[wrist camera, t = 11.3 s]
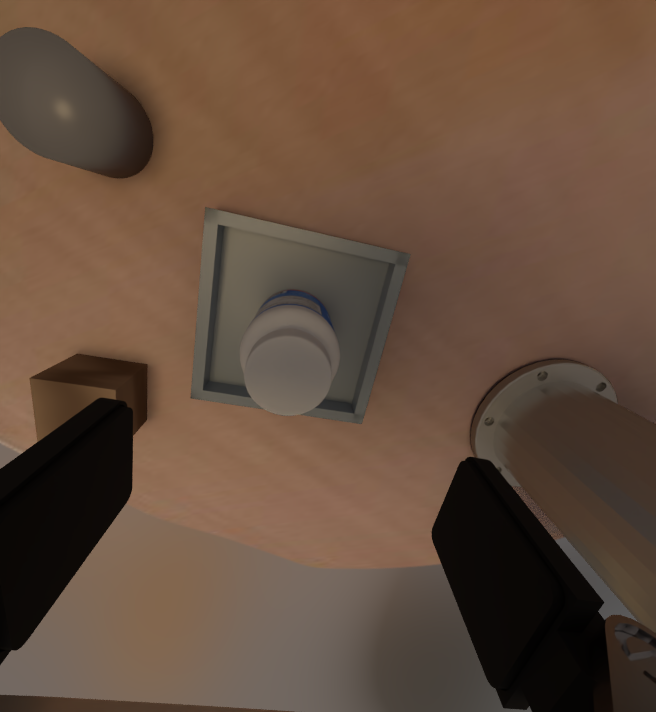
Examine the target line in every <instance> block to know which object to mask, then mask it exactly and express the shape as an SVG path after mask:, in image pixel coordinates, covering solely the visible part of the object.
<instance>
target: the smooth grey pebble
mask: <svg viewBox="0 0 656 712" xmlns="http://www.w3.org/2000/svg"><path fill="white" fill-rule="evenodd" d="M0 120H1V122H2V123H3V125H4V126H5V127H6V129H7V130H8V131H9V132H10V134H11V135H12V136H13V137H14V138H15V139H16V140H17V141H19V142H20V143H21V144H22V145H23V146H25V147H26V148H28V149H29V150H31V151H32V152H34V153H36V154H38V155H40V156H43V157H45V158H48V159H51V160H55V161H58V162H61V163H65V164H68V165H71V166H75V167H78V168H81V169H85V170H88V171H91V172H95V173H98V174H101V175H105V176H108V177H112V178H128V177H131V176H133V175H136V174H137V173H139V172H140V171H141V170H142V169H143V168H144V167H145V166H146V165H147V163H148V161H149V159H150V157H151V154H152V150H153V132H152V127H151V124H150V121H149V118H148V116H147V114H146V112H145V110H144V109H143V107H142V106H141V104H140V103H139V102H138V100H137V99H136V98H135V97H134V96H133V95H132V94H131V93H129V92H128V91H127V90H126V89H124V88H123V87H122V86H121V85H120V84H118V83H117V82H116V81H115V80H113V79H112V78H111V77H110V76H108V75H107V74H106V73H105V72H104V71H102V70H101V69H100V68H99V67H97V66H96V65H95V64H94V63H93V62H91V61H90V60H89V59H88V58H86V57H85V56H84V55H83V54H81V53H80V52H79V51H78V50H77V49H75V48H74V47H73V46H72V45H70V44H69V43H68V42H67V41H65V40H64V39H62V38H61V37H59V36H57V35H55V34H53V33H51V32H49V31H46V30H43V29H38V28H31V27H24V28H17V29H14V30H11V31H9V32H7V33H5V34H4V35H3V36H1V37H0Z"/></svg>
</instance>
